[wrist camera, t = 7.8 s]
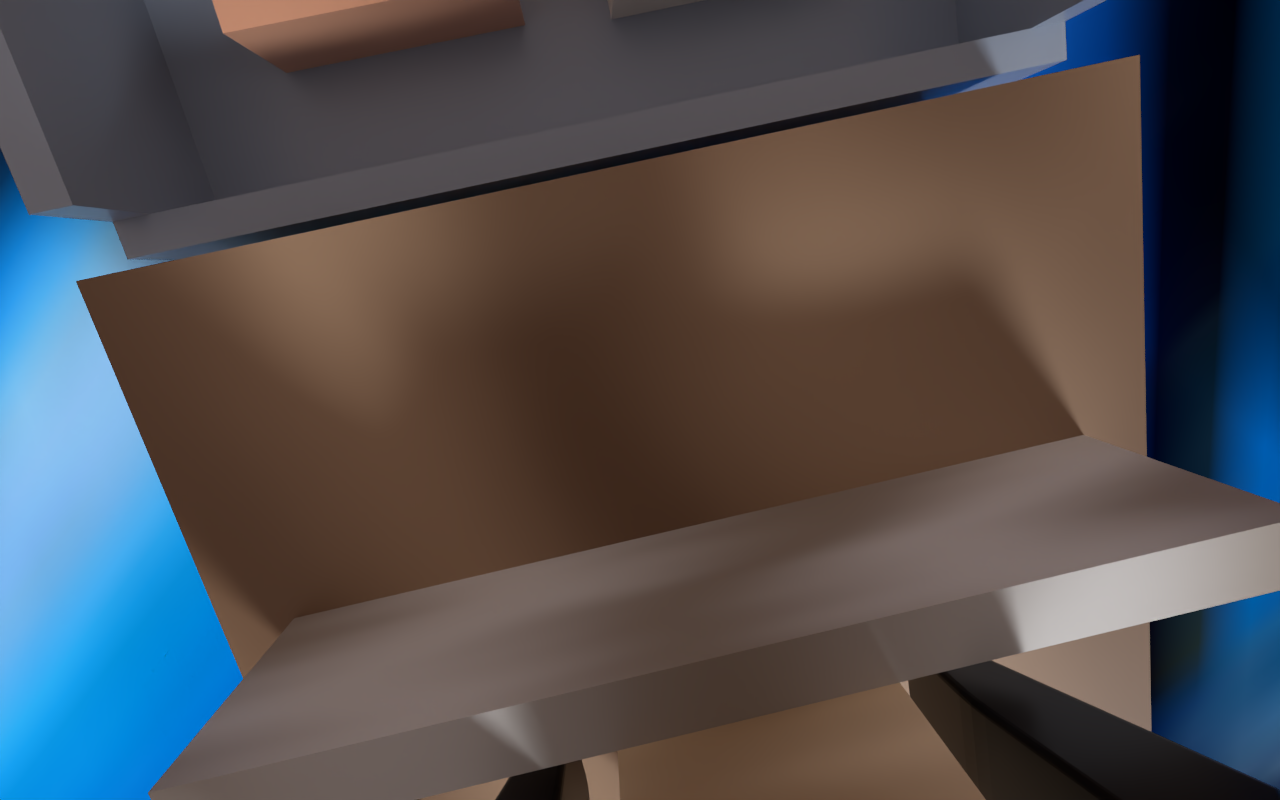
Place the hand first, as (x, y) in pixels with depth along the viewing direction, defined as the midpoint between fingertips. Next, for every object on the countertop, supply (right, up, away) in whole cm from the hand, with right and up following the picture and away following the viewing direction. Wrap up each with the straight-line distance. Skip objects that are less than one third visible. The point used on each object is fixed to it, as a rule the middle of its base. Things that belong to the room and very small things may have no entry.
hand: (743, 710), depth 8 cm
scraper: (0, -1, +2) cm, 2 cm away
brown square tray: (-1, +1, +7) cm, 7 cm away
